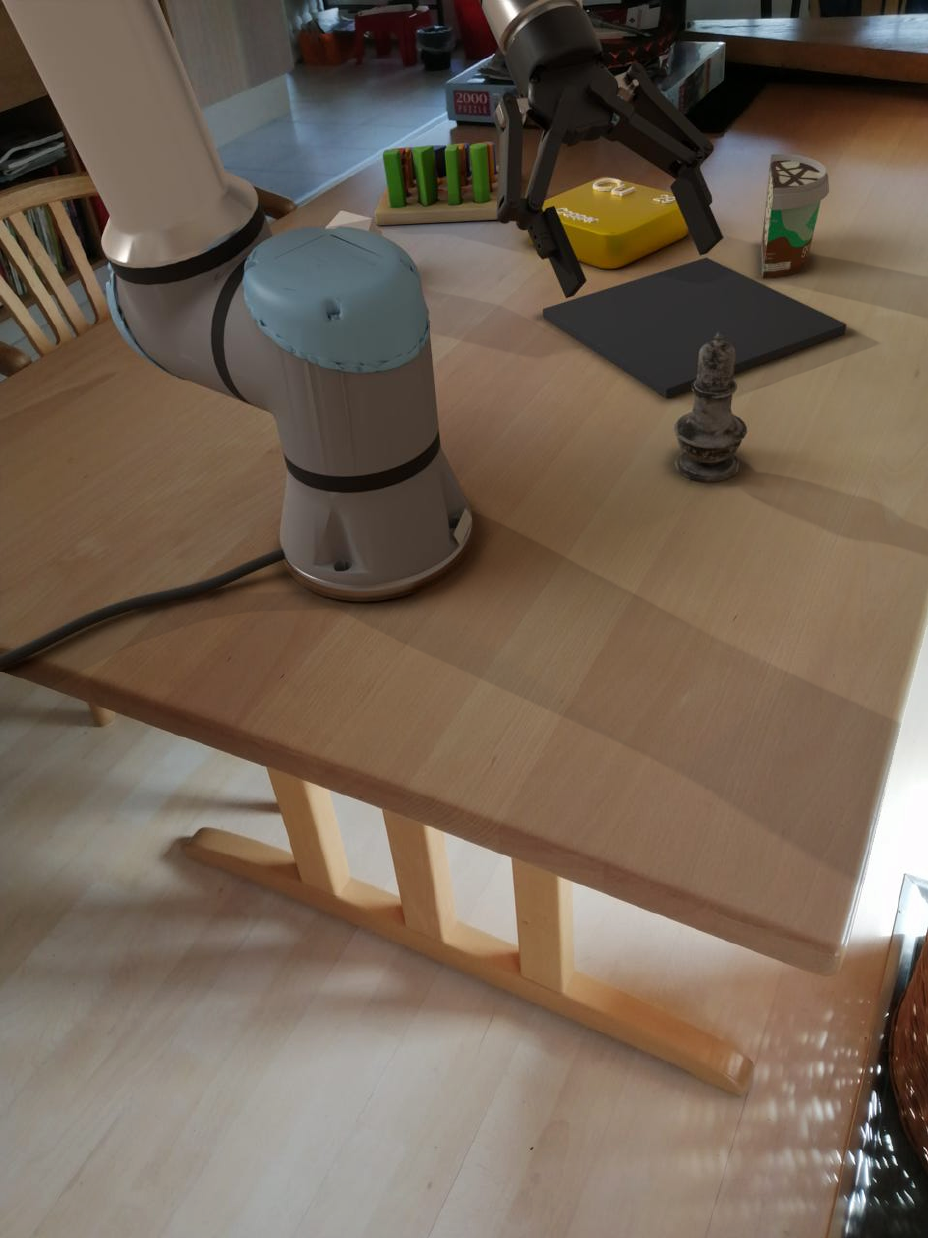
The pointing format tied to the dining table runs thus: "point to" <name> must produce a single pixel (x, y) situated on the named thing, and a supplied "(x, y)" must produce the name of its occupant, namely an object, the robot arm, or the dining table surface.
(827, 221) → the dining table surface
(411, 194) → the peg board
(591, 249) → the element tile
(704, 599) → the dining table surface
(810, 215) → the food container
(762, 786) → the dining table surface
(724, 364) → the salt shaker
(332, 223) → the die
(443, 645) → the dining table surface
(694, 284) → the mat
